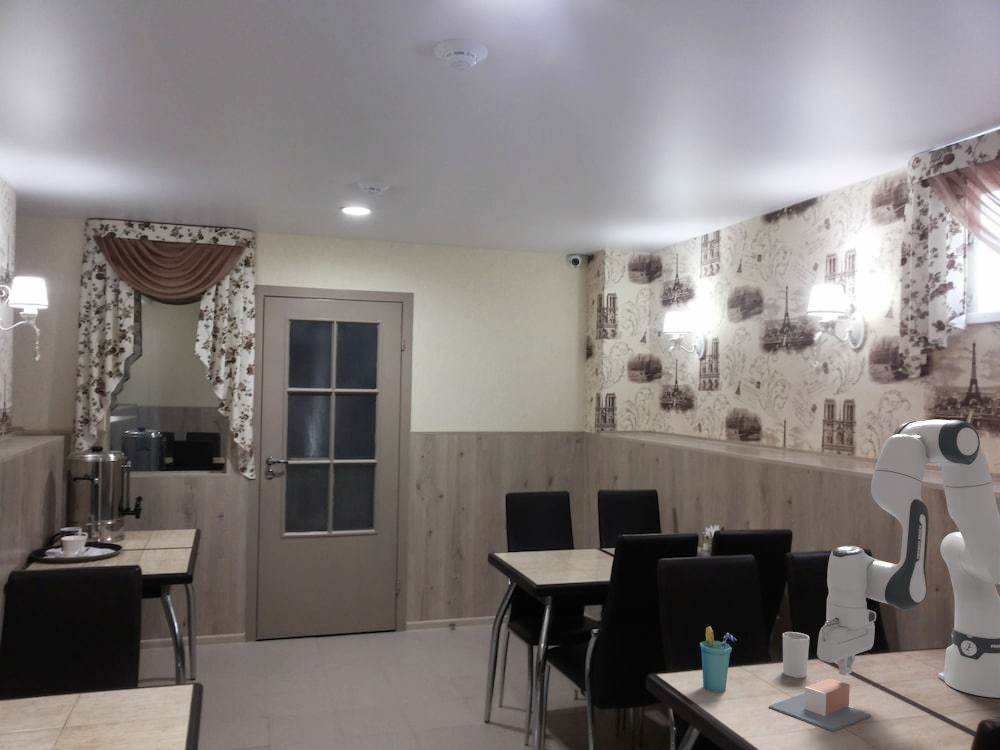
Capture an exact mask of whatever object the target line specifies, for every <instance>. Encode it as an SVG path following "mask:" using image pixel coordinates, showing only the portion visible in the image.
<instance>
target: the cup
mask: <svg viewBox="0 0 1000 750" xmlns="http://www.w3.org/2000/svg"><path fill="white" fill-rule="evenodd" d="M705 639H706V640H703V641H701V642H699V647H700V649H701V666H702V684H703V686H702V687H703V688H704V690H706V691H709V692H712V693H724V692H725V691H726V690H727V689H726V688H727V680H728V673H729V664H730V656H731V653H732V646H730V644H729V643H727V640H728V639H730V640H731V641H732V642H734V643H737V642H738V639H737V638H735V636H733V635H732V634H730V633H729V632H727V633H725V634H724V636H723V639H722V641H719V640H715V635H714V630H713V629H712V627H711V626H707V627H705Z"/></svg>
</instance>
